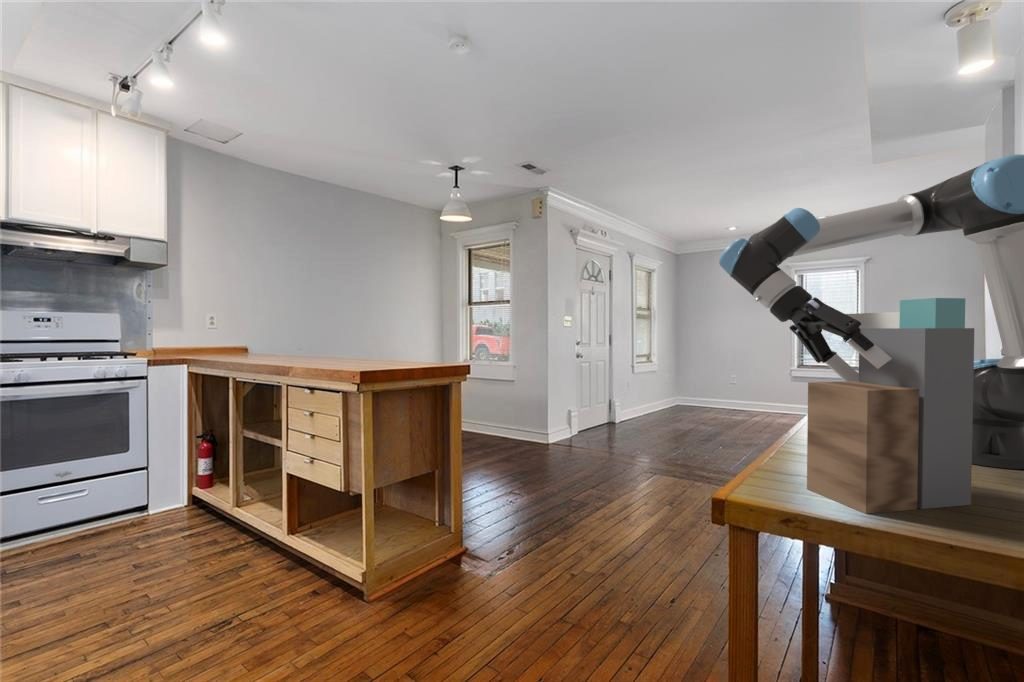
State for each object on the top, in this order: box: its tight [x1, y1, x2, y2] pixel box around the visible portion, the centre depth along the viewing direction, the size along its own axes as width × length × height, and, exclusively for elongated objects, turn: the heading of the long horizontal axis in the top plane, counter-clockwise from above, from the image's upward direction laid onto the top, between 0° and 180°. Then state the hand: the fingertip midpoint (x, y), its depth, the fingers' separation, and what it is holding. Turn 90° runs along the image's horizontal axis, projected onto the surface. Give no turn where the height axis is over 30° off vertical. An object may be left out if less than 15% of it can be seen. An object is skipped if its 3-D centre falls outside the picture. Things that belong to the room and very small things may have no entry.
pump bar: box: [845, 297, 966, 329], centre depth 88 cm, size 6×21×5 cm, turn 10°
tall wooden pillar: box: [806, 380, 919, 514], centre depth 83 cm, size 10×12×20 cm
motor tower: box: [858, 327, 975, 510], centre depth 84 cm, size 10×12×30 cm
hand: (870, 374), depth 89 cm, fingers open, 13 cm apart
